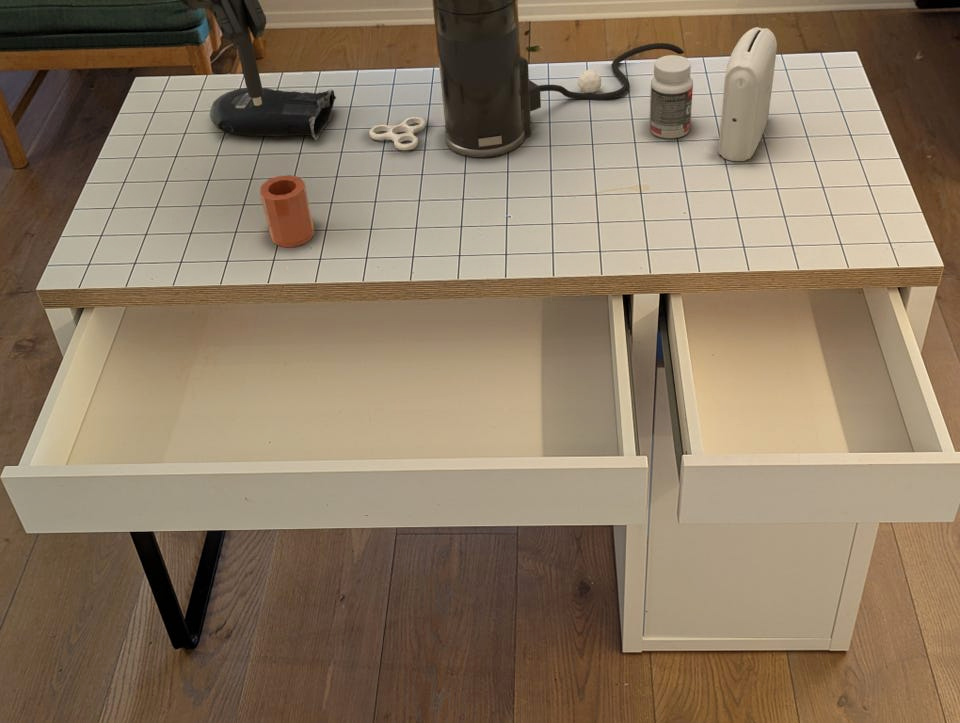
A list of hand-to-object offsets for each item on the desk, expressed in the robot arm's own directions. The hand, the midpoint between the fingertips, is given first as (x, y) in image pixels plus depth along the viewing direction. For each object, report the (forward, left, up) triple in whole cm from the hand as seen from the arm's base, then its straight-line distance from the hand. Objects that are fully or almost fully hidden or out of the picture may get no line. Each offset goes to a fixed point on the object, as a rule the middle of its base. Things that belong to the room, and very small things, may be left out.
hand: (249, 36), depth 101 cm
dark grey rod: (0, -2, -8) cm, 8 cm away
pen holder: (0, +1, -22) cm, 22 cm away
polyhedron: (-43, -4, -22) cm, 48 cm away
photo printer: (-50, +16, -22) cm, 57 cm away
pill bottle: (-45, +9, -22) cm, 51 cm away
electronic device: (-8, -24, -22) cm, 33 cm away
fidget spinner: (-19, -9, -22) cm, 30 cm away
